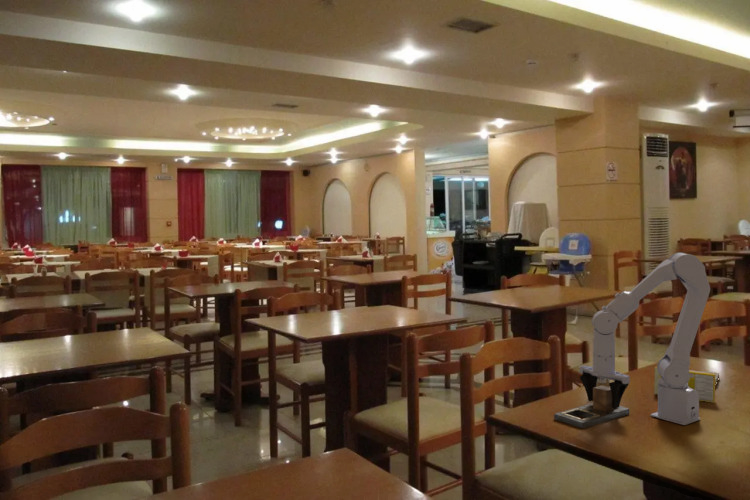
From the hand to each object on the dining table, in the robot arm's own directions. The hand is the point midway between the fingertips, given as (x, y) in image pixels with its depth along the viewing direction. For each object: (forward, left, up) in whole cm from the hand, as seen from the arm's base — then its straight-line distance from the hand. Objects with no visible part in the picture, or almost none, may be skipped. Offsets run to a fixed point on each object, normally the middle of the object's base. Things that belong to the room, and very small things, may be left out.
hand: (603, 404), depth 167 cm
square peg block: (0, 0, -3) cm, 3 cm away
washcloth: (+2, -52, -3) cm, 52 cm away
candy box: (-5, -32, -3) cm, 32 cm away
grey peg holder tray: (0, +5, -3) cm, 6 cm away
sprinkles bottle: (+13, -18, -3) cm, 22 cm away
